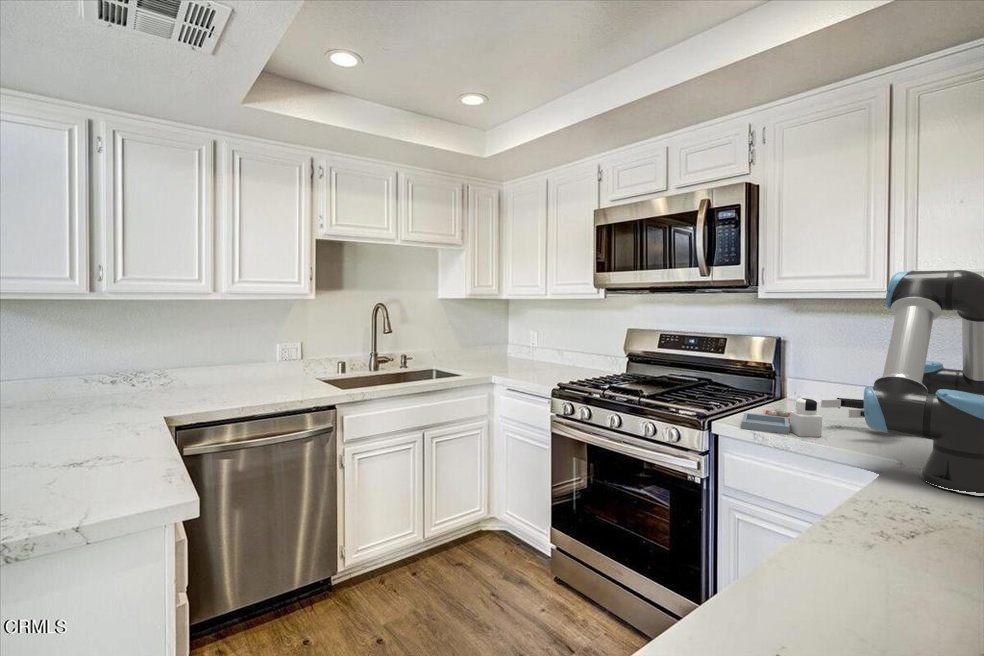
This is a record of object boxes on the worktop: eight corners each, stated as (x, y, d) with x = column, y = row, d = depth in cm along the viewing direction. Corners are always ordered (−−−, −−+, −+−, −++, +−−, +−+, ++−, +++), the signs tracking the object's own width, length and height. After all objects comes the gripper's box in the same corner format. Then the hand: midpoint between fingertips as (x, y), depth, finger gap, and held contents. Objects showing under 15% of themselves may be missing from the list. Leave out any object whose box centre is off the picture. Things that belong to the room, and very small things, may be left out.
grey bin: (788, 434, 171) (789, 426, 171) (741, 428, 178) (741, 421, 178) (788, 424, 184) (788, 417, 183) (743, 419, 191) (744, 412, 190)
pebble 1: (777, 419, 188) (777, 411, 188) (767, 418, 190) (768, 410, 190) (777, 417, 191) (777, 410, 191) (768, 416, 193) (768, 409, 192)
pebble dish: (793, 423, 184) (793, 418, 184) (762, 420, 189) (762, 415, 189) (792, 417, 193) (793, 412, 193) (763, 414, 198) (763, 409, 198)
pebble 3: (788, 420, 187) (788, 412, 186) (778, 419, 188) (779, 411, 188) (788, 418, 189) (788, 411, 189) (778, 417, 191) (779, 410, 191)
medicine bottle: (810, 431, 175) (812, 397, 174) (821, 437, 168) (823, 401, 167) (788, 430, 175) (790, 396, 174) (799, 436, 168) (800, 401, 167)
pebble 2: (782, 418, 191) (782, 410, 190) (773, 417, 192) (773, 409, 192) (782, 416, 193) (782, 408, 193) (773, 415, 195) (773, 407, 194)
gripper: (928, 428, 159) (861, 429, 159) (868, 409, 184) (811, 410, 184) (929, 405, 158) (862, 406, 158) (869, 389, 183) (812, 389, 183)
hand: (834, 408), depth 171 cm, fingers open, 13 cm apart
